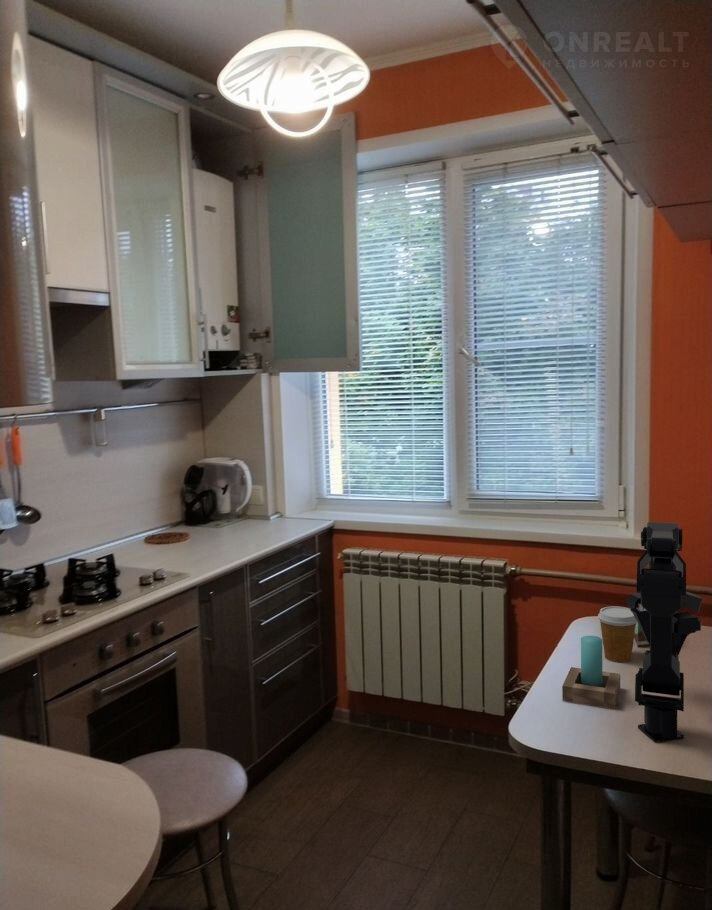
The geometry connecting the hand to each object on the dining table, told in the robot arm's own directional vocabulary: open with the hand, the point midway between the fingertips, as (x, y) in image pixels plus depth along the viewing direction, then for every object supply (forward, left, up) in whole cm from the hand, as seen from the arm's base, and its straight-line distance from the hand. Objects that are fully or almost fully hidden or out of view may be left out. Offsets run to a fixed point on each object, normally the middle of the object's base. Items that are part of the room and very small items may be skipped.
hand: (661, 649), depth 159 cm
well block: (+7, +13, -12) cm, 19 cm away
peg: (+7, +13, -12) cm, 19 cm away
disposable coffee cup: (+25, -4, -12) cm, 28 cm away
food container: (+33, -17, -12) cm, 39 cm away
